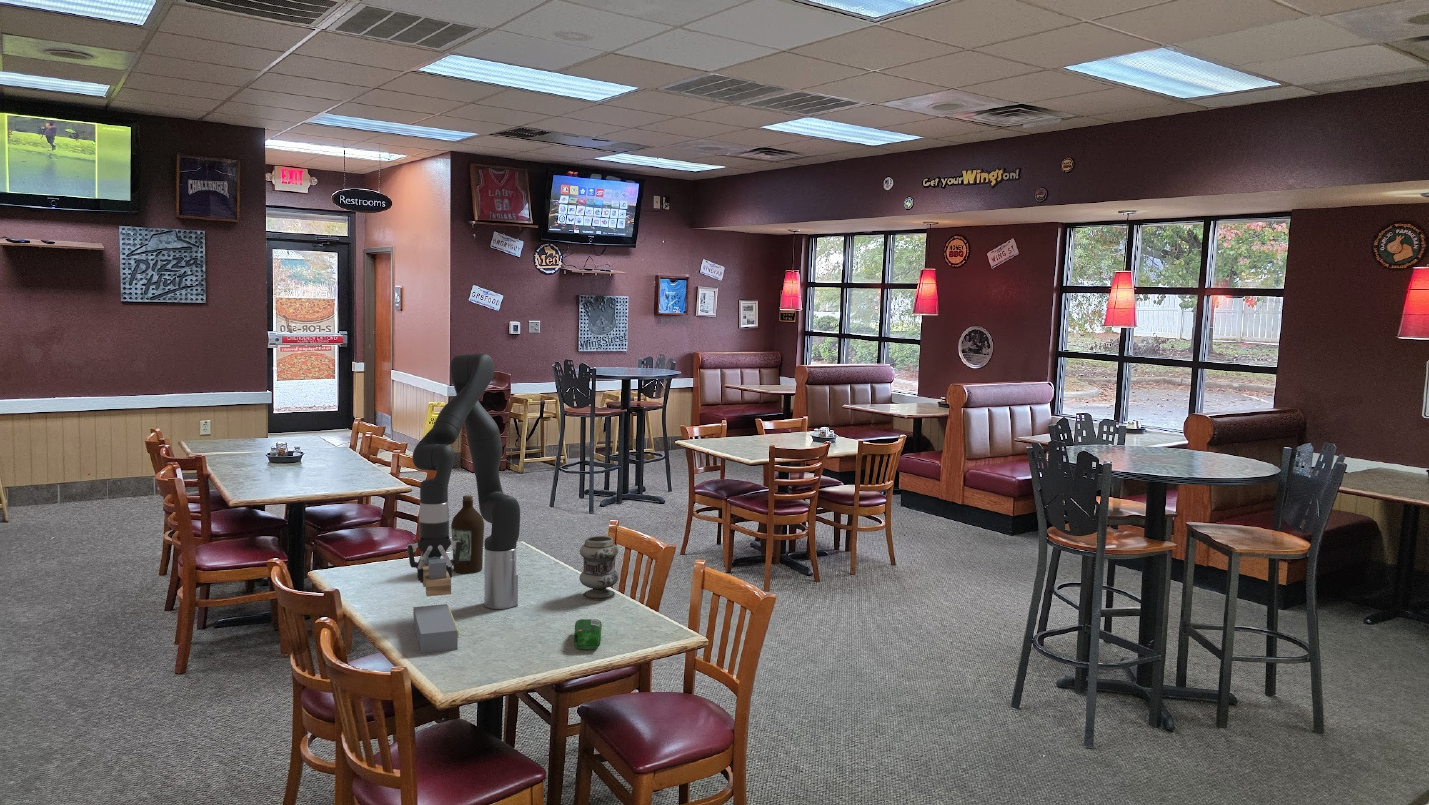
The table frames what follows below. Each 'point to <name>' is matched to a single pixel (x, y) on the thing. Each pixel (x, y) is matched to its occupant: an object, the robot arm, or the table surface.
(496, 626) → the table surface
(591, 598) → the apothecary jar
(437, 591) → the board
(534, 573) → the table surface
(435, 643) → the dock
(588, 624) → the snack package
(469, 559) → the olive oil
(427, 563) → the block
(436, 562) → the block
